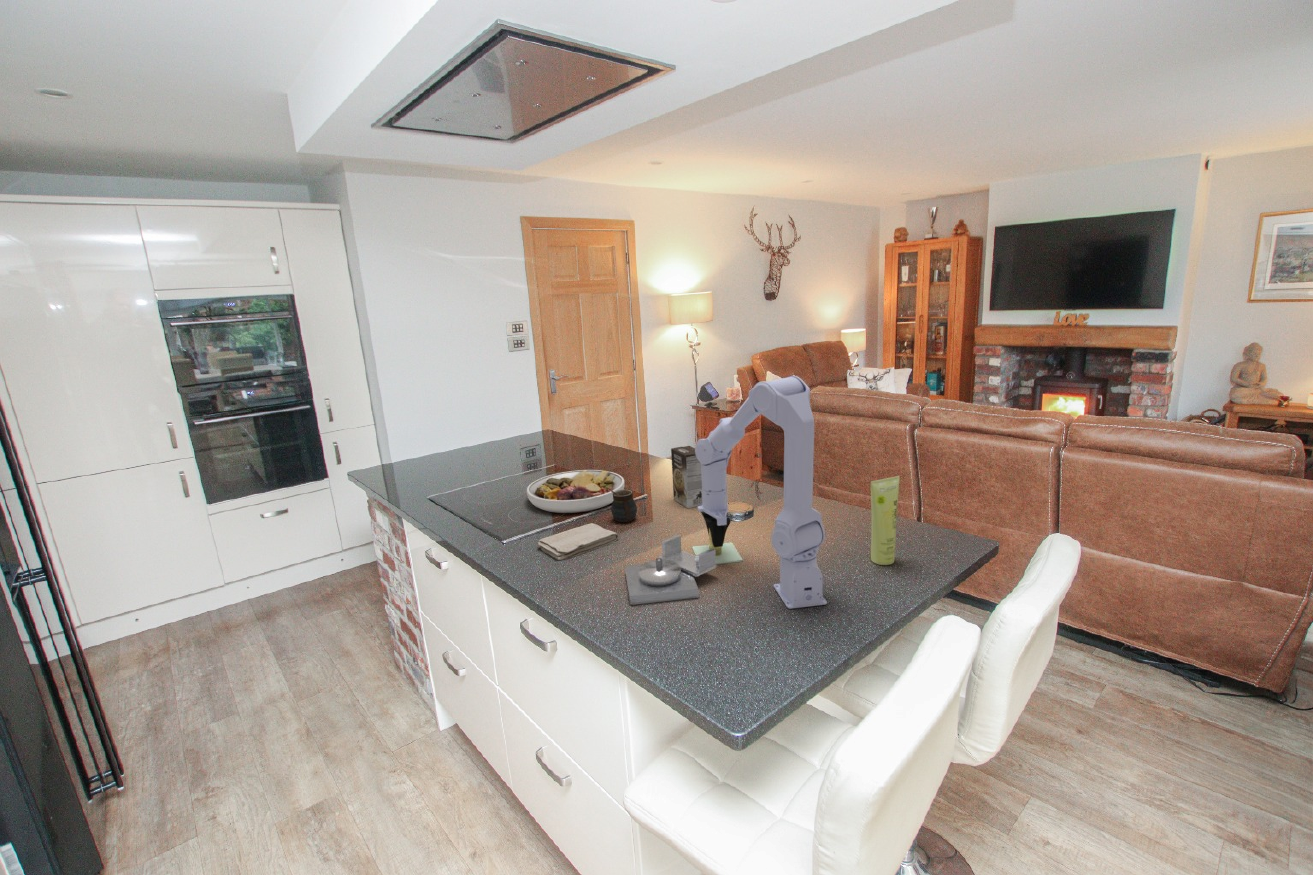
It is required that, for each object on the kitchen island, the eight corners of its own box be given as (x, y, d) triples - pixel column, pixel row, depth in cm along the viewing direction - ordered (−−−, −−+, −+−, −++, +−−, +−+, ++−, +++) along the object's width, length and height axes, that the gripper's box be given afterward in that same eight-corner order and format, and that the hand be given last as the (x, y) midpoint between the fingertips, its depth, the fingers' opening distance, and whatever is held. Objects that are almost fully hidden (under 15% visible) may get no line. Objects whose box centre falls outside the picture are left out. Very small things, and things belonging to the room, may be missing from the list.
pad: (742, 561, 137) (742, 559, 137) (699, 565, 136) (699, 564, 136) (732, 543, 147) (732, 542, 147) (692, 547, 146) (691, 546, 146)
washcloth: (535, 549, 151) (533, 538, 150) (593, 529, 162) (592, 518, 162) (559, 564, 142) (558, 552, 142) (620, 541, 153) (619, 530, 153)
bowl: (524, 491, 196) (521, 469, 194) (613, 479, 204) (611, 456, 203) (533, 523, 168) (530, 497, 166) (636, 507, 176) (634, 482, 175)
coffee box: (672, 499, 180) (670, 448, 176) (691, 495, 183) (689, 444, 179) (686, 508, 172) (684, 455, 168) (706, 504, 175) (704, 451, 171)
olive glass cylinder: (723, 555, 140) (723, 529, 139) (710, 556, 140) (710, 530, 138) (719, 549, 143) (719, 524, 142) (707, 550, 143) (707, 525, 141)
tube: (892, 568, 130) (895, 483, 125) (867, 564, 132) (870, 480, 128) (896, 558, 135) (899, 475, 130) (872, 554, 137) (875, 473, 132)
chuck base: (698, 597, 122) (698, 588, 122) (630, 605, 121) (630, 596, 120) (687, 567, 136) (686, 559, 135) (625, 573, 134) (625, 565, 134)
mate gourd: (641, 521, 165) (639, 487, 162) (615, 527, 162) (612, 492, 160) (633, 512, 171) (630, 479, 169) (607, 518, 169) (604, 484, 166)
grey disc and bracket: (663, 592, 120) (662, 574, 119) (625, 573, 130) (624, 555, 129) (716, 567, 130) (716, 549, 129) (678, 550, 139) (677, 534, 138)
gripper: (691, 480, 144) (693, 532, 147) (703, 500, 130) (705, 557, 133) (720, 477, 145) (721, 529, 148) (735, 497, 131) (736, 554, 134)
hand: (716, 542), depth 141 cm, fingers open, 3 cm apart
